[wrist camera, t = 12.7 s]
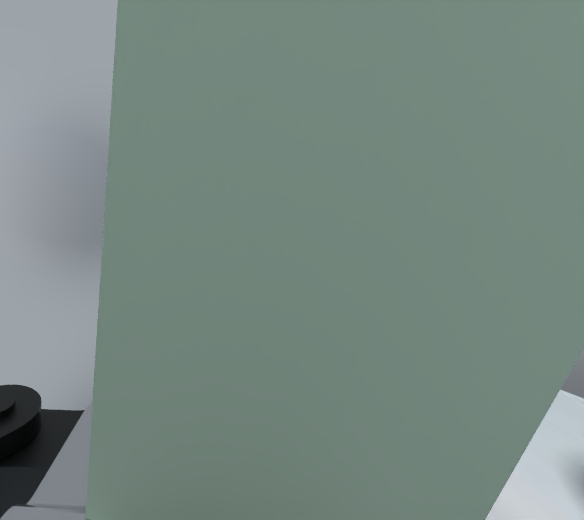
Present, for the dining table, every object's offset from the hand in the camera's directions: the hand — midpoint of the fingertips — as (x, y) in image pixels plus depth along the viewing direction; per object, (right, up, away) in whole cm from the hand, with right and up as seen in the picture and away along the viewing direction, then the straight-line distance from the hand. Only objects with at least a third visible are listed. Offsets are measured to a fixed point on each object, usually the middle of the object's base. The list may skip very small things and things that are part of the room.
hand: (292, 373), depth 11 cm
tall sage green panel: (-3, -10, +1) cm, 10 cm away
